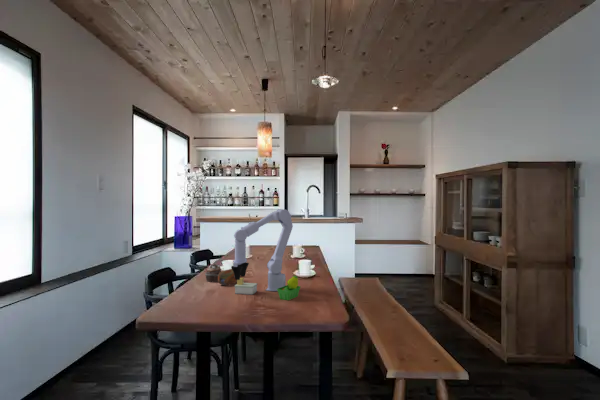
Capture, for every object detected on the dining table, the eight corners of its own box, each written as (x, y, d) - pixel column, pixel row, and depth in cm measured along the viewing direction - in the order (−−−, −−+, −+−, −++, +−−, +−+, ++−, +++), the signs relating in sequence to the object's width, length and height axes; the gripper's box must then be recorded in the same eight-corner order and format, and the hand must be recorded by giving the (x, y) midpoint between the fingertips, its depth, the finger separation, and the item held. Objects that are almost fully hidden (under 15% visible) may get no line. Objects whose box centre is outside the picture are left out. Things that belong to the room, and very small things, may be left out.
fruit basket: (288, 294, 185) (288, 272, 185) (303, 296, 181) (303, 274, 181) (276, 299, 175) (276, 276, 175) (291, 302, 171) (291, 278, 171)
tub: (256, 291, 190) (256, 284, 190) (252, 294, 184) (252, 287, 184) (239, 290, 192) (239, 284, 192) (235, 293, 186) (235, 287, 186)
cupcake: (212, 278, 222) (212, 262, 222) (224, 279, 217) (224, 263, 217) (201, 281, 213) (201, 264, 213) (214, 283, 209) (214, 266, 209)
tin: (220, 286, 201) (220, 271, 201) (216, 285, 203) (216, 271, 203) (240, 281, 213) (240, 267, 213) (236, 280, 215) (236, 267, 215)
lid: (257, 286, 190) (257, 277, 190) (253, 290, 183) (253, 280, 183) (239, 285, 192) (239, 276, 192) (234, 289, 185) (234, 279, 185)
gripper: (238, 250, 196) (238, 274, 196) (227, 254, 182) (227, 280, 182) (250, 250, 195) (250, 275, 195) (240, 254, 181) (240, 281, 181)
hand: (240, 278), depth 188 cm, fingers open, 7 cm apart
